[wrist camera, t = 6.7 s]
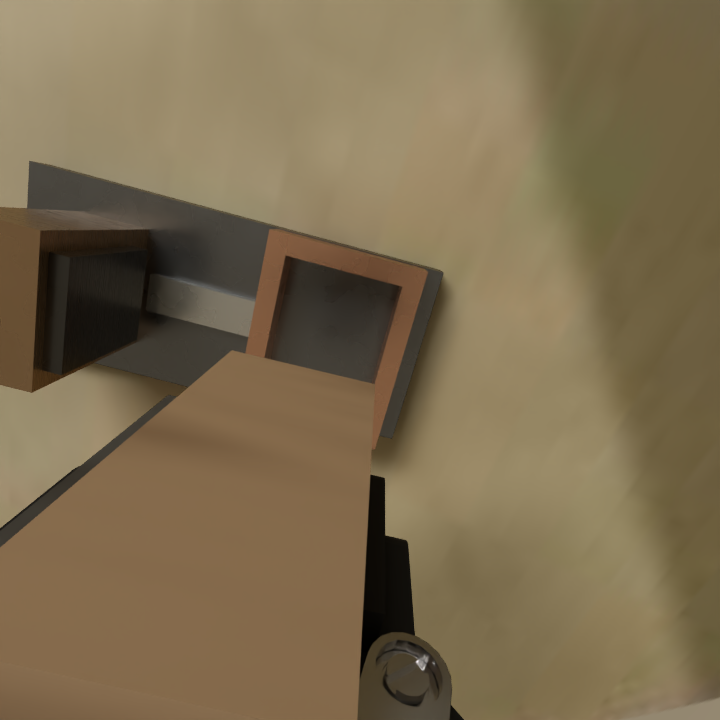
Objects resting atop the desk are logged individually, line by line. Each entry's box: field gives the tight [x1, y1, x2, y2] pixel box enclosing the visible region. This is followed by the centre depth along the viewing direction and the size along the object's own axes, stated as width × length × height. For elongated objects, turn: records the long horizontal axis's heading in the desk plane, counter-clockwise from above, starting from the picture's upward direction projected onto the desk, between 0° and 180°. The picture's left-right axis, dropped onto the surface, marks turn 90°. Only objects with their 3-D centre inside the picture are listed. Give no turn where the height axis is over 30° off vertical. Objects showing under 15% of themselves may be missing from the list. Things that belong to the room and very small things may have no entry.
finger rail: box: [0, 161, 443, 450], centre depth 22 cm, size 22×10×10 cm, turn 75°
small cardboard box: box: [0, 350, 375, 720], centre depth 8 cm, size 6×4×8 cm
